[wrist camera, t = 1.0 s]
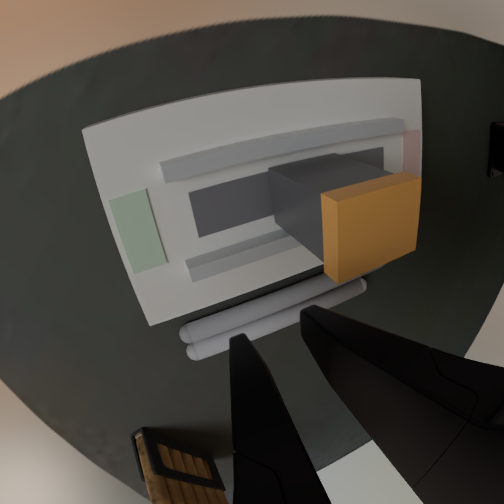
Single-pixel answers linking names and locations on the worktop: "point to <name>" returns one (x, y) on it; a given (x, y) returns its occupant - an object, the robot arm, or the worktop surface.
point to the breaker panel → (235, 179)
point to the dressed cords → (266, 313)
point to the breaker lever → (346, 211)
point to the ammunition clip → (176, 471)
